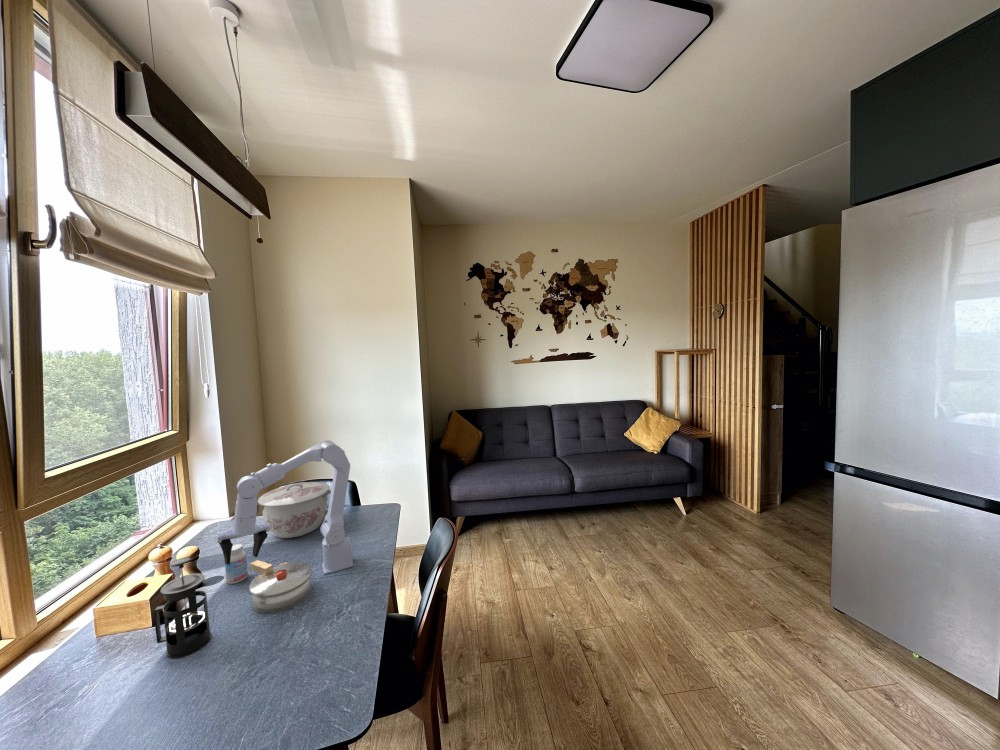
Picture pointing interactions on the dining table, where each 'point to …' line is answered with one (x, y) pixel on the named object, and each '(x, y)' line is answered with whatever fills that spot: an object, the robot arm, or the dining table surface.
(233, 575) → the pill bottle
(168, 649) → the french press
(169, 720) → the dining table surface
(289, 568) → the cooker lid
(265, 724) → the dining table surface
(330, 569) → the robot arm
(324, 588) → the dining table surface
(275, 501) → the chamber pot
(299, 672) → the dining table surface
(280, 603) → the white oval dish
